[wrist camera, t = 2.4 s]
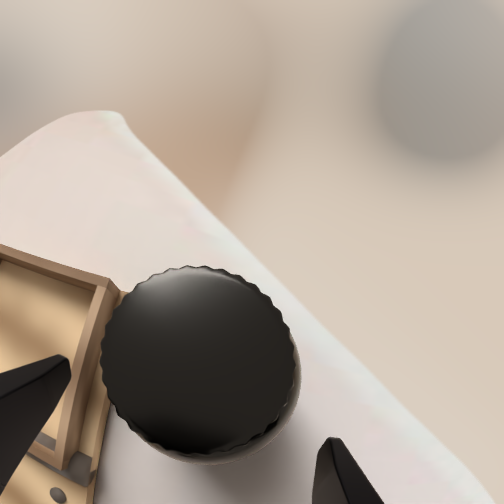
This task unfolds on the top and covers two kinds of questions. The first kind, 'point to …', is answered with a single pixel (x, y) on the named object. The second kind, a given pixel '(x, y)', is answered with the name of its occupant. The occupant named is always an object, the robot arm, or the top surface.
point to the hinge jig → (81, 362)
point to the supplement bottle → (201, 365)
